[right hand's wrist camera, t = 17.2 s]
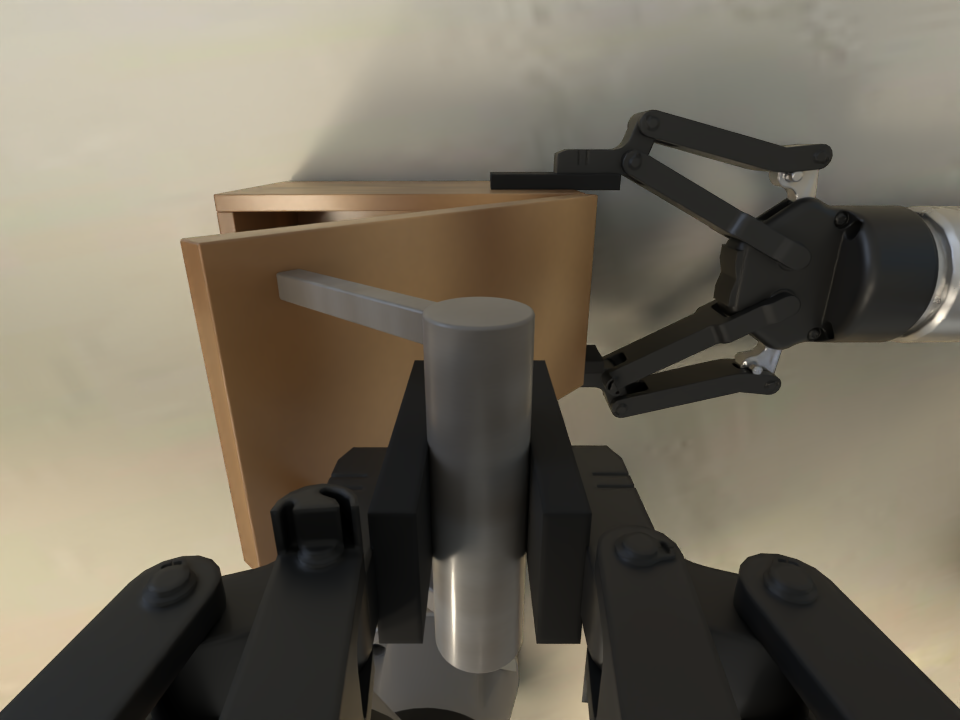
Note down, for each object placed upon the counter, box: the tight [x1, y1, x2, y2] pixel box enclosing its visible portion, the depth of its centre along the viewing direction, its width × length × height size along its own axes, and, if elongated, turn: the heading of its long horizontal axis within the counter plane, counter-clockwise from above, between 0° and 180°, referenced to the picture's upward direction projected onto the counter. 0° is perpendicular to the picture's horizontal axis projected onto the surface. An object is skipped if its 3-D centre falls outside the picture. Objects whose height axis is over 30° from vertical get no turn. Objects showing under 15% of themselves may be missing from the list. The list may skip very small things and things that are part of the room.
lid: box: [180, 194, 598, 673], centre depth 18 cm, size 18×9×8 cm
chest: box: [214, 181, 585, 234], centre depth 31 cm, size 17×9×11 cm, turn 90°
